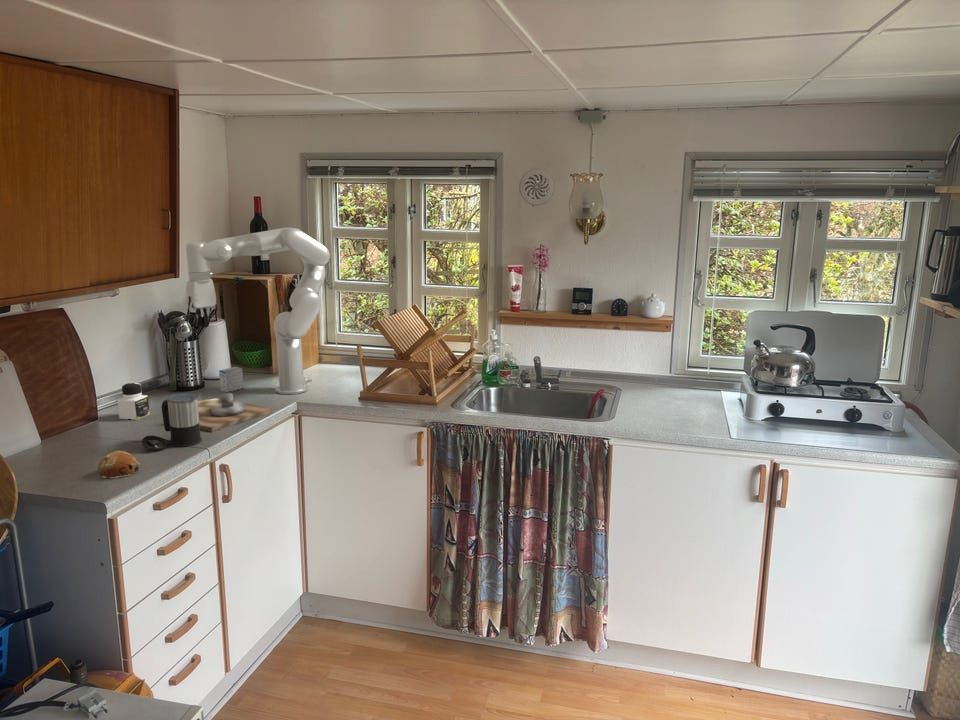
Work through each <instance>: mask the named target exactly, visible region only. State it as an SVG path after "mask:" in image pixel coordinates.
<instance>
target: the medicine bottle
mask: <svg viewBox="0 0 960 720" xmlns="http://www.w3.org/2000/svg"><path fill="white" fill-rule="evenodd" d="M121 392H122V397H121V398H118V399H117V401H116V402H117V409H118V417H119V419H120V420H128V419H131V421H139V420H140V418H141V419H143V418H145V417H148V416H150V414H151V413H150V404H149V396H148V395H144V394H143V393H142V385H141V383H138V382H129V383H125V384H123V385H122V386H121Z"/></svg>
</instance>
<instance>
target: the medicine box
mask: <svg viewBox="0 0 960 720" xmlns="http://www.w3.org/2000/svg"><path fill="white" fill-rule="evenodd" d="M218 374H219V384H220V385H219V387H220V391H221V392H222V391H225V392H224V393H226V392H228V393H230V392H229V391H231V392H234V391H233V390H235V391H238V390H237V389H239V390H242V389H241V388H243V389H244V379H243V378H244V376H243V368H241V367H238V366H233V367H228V368H224V369H220V370H218Z"/></svg>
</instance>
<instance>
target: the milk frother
mask: <svg viewBox="0 0 960 720" xmlns="http://www.w3.org/2000/svg"><path fill="white" fill-rule="evenodd" d="M198 398H199V396H198V395H197V394H193V393H180V394H174V395H170V396H168V397H166V399H165V400H163V402H162V403H161V413H162V421H163V427H164V431H165V432H168V433H169V432H170V440H169V439H166V438H163V437H161V436H156V435H145V436H144V437H143V438H142V440H141V445H142V447H143V448H144V449H146V450H149V451H150V452H152V451H151V450H153V451H156V452H157V451H161V450H163V449H165V448H166V447H167V442H170V445H171V446H172V447H179V448H180V447H181V448H182V447H190V446H195V444H196V445H198V444H200V443H201V442H202V440H203V439H202V438H201V437H202V436H201V429H200V428H199V413H198V401H199V400H198ZM156 441H157V442H156ZM158 442H160V443H161V445H159V446H157V445H158Z"/></svg>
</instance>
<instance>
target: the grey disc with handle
mask: <svg viewBox="0 0 960 720" xmlns="http://www.w3.org/2000/svg"><path fill="white" fill-rule="evenodd" d="M208 409H209V413H210V414H211V415H214V416H230V415H236V414H240V413H242V412H244V411H245V402H243V401H237V400H235V401H234V394H233V393H231V392H228V393H226V392H224V393H221V394H219V397H218V398H217V397H216V398H209V399H204V400H203V399H202V400H198V411H202V410H208Z"/></svg>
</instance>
